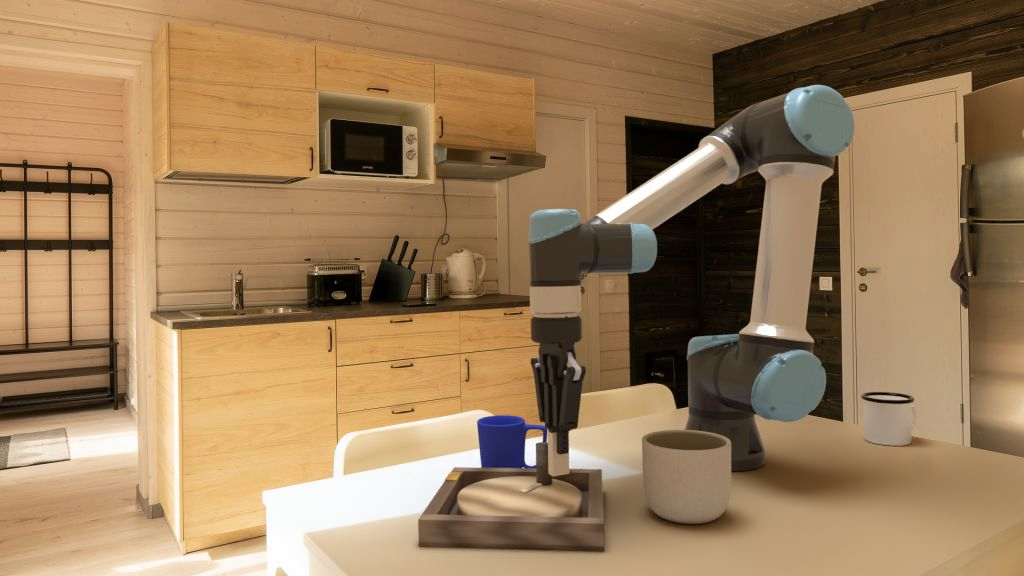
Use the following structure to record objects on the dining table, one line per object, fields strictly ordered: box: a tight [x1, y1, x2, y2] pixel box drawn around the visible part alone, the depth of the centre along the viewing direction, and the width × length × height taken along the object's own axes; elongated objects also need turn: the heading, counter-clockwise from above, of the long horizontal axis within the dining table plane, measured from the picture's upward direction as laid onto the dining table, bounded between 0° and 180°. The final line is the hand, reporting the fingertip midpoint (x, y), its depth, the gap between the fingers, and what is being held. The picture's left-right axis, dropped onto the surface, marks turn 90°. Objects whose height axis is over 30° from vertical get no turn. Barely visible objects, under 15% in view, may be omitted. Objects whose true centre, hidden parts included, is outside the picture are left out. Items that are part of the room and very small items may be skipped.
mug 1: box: [476, 414, 548, 468], centre depth 121 cm, size 8×12×10 cm
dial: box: [457, 441, 582, 518], centre depth 103 cm, size 18×18×8 cm
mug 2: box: [860, 391, 917, 447], centre depth 142 cm, size 12×10×9 cm
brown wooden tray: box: [417, 466, 605, 552], centre depth 103 cm, size 24×24×4 cm
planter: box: [641, 429, 732, 525], centre depth 102 cm, size 12×12×11 cm
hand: (558, 473), depth 105 cm, fingers closed
